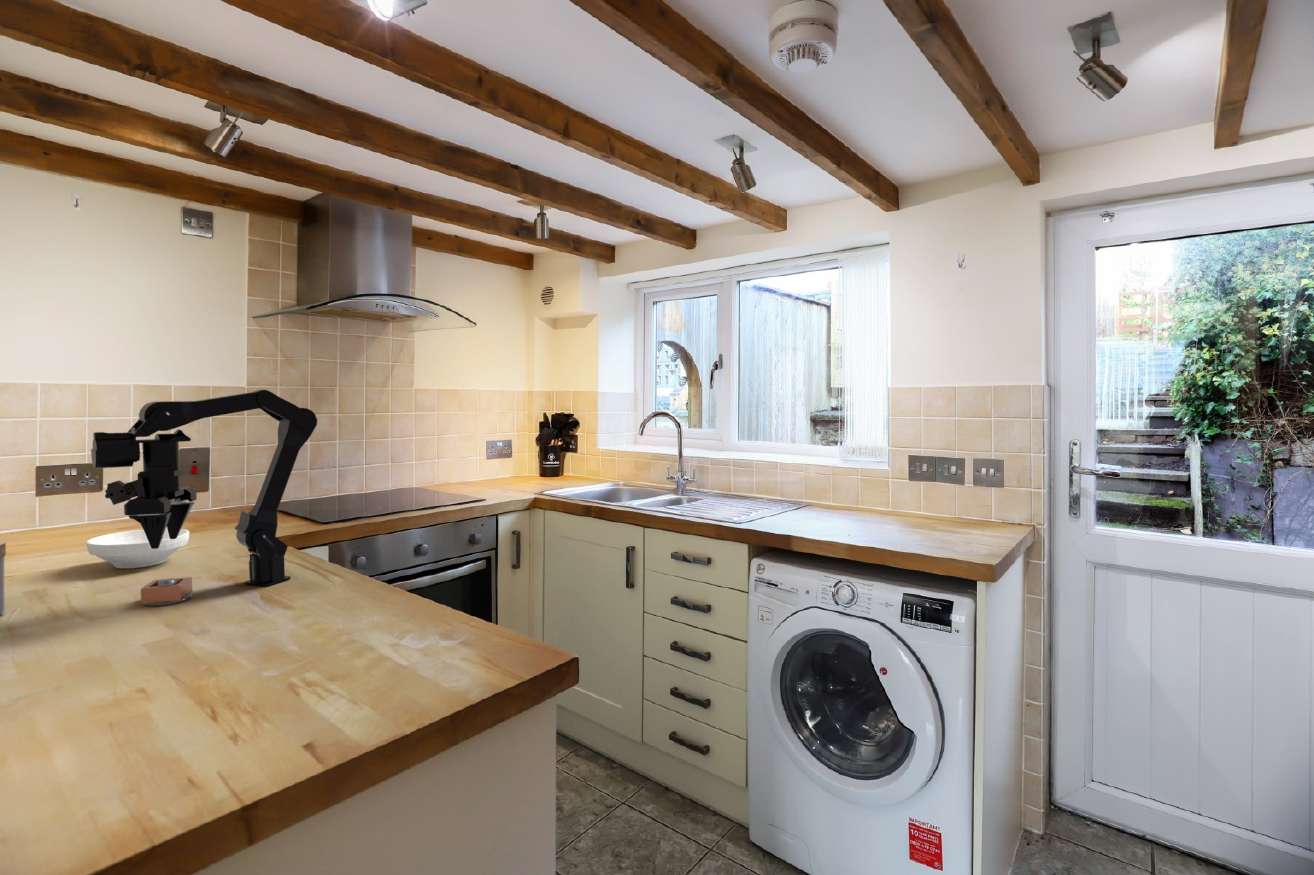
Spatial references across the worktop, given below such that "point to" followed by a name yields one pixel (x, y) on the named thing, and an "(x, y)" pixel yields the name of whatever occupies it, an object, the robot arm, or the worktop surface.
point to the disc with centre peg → (165, 583)
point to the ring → (166, 591)
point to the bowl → (134, 548)
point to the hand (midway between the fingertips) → (164, 543)
